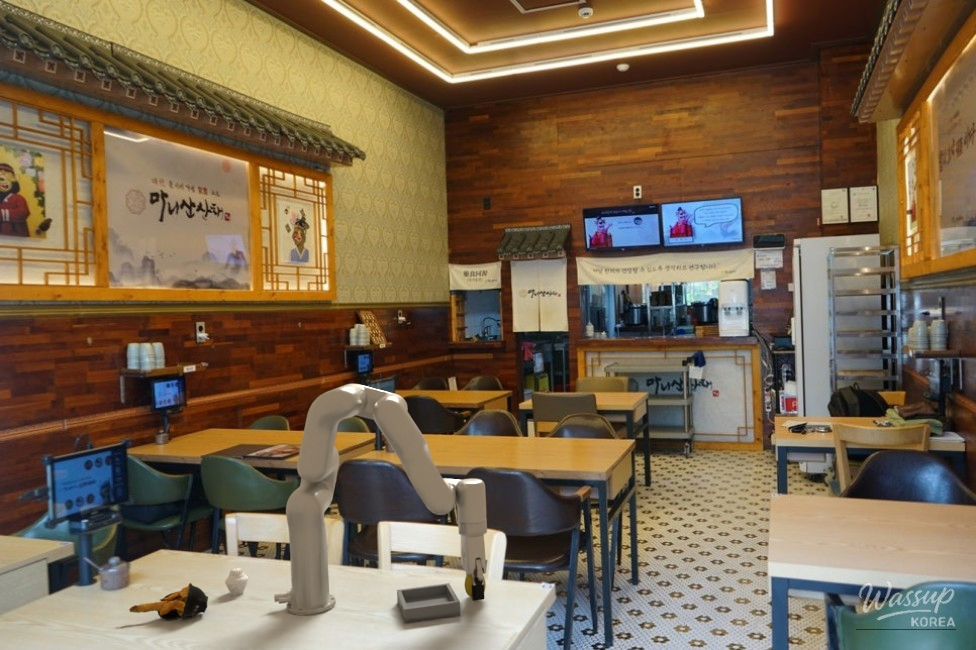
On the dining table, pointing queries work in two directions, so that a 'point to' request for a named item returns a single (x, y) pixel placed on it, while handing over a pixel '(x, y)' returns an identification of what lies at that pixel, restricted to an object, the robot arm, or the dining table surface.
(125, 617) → the dining table surface
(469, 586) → the lemon
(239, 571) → the white vase
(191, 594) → the fried shrimp in bowl
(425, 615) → the tray
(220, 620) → the dining table surface
